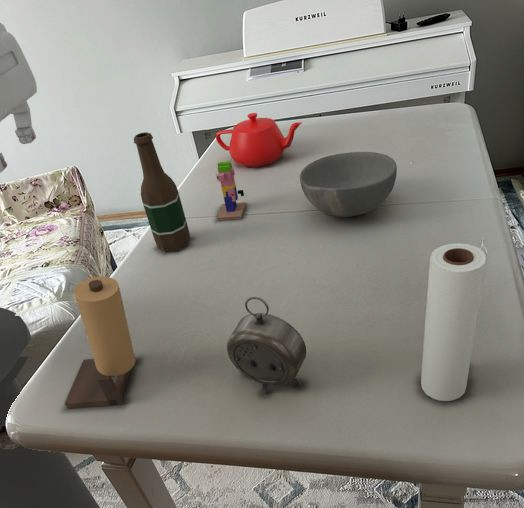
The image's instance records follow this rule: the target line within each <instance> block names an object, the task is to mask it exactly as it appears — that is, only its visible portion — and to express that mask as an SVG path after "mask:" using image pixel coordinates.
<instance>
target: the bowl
mask: <svg viewBox="0 0 524 508" xmlns="http://www.w3.org/2000/svg"><path fill="white" fill-rule="evenodd" d="M397 167H398V166H397V162H396V161H395V160H394V158H393V157H391V156H389V155H387V154H385V153H381V152H374V151H353V152H351V151H350V152H343V153H335V154H330V155H327V156H324V157H321V158H318V159H316V160H314V161H312V162H310V163H308V164H307V165H306V166H304V167H303V169H302V170H301V172H300V174H299V184H300V187H301V190H302V192H303V194H304V196H305V198H306V199H307V200H308V202H309V203H310V204H311V205H312V206H313V207H314V208H316V209H317V210H319V211H320V212H322V213H323V214H326V215H328V216H332V217H342V218H346V217H347V218H348V217H355V216H360V215H364V214H367V213H370V212H372V211H374V210H376V209H377V208H379V207H380V206H382V204H383V203H384V202H385V201H386V200H387V198H389V196H390V195H391V193H392V191H393V190H394V187H395V184H396V179H397V172H398V171H397V170H398V169H397Z"/></svg>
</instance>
